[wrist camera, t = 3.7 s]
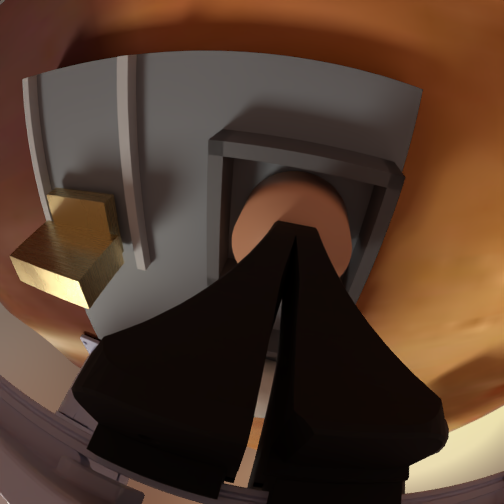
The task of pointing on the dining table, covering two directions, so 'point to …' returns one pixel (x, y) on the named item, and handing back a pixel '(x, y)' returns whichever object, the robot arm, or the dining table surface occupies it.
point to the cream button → (265, 388)
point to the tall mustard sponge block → (73, 247)
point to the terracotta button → (295, 214)
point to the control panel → (213, 158)
